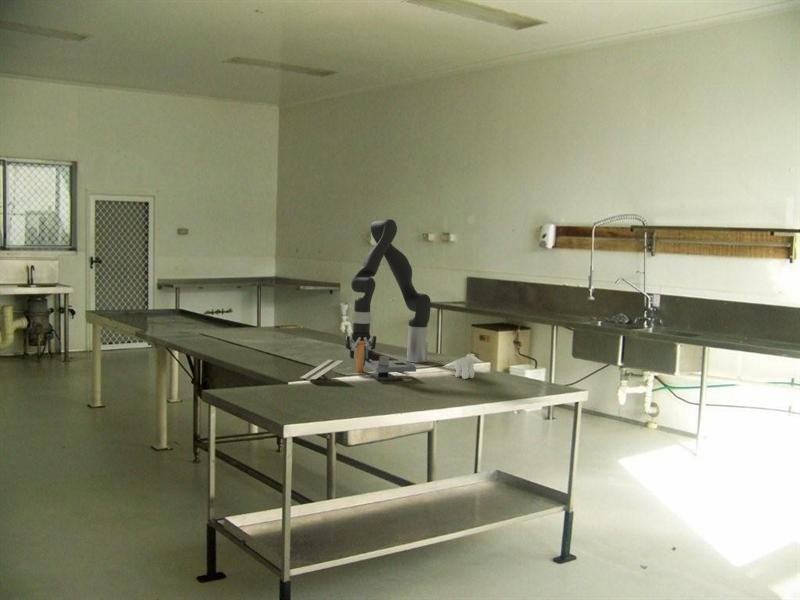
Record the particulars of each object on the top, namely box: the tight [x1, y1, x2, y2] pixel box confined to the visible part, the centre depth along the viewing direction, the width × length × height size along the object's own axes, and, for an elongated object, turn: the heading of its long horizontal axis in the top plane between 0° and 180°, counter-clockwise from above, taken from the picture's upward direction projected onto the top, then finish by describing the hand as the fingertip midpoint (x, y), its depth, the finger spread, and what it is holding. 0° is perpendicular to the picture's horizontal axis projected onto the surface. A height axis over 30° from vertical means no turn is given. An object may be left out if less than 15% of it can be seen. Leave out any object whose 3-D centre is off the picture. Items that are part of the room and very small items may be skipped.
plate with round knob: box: [364, 355, 417, 381], centre depth 365 cm, size 18×16×9 cm
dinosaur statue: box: [442, 353, 484, 380], centre depth 374 cm, size 7×24×11 cm, turn 44°
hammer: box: [355, 339, 400, 373], centre depth 389 cm, size 5×11×30 cm
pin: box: [355, 341, 365, 373], centre depth 375 cm, size 4×4×14 cm
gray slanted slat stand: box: [299, 359, 344, 381], centre depth 352 cm, size 16×9×15 cm
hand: (359, 358), depth 375 cm, fingers open, 6 cm apart
